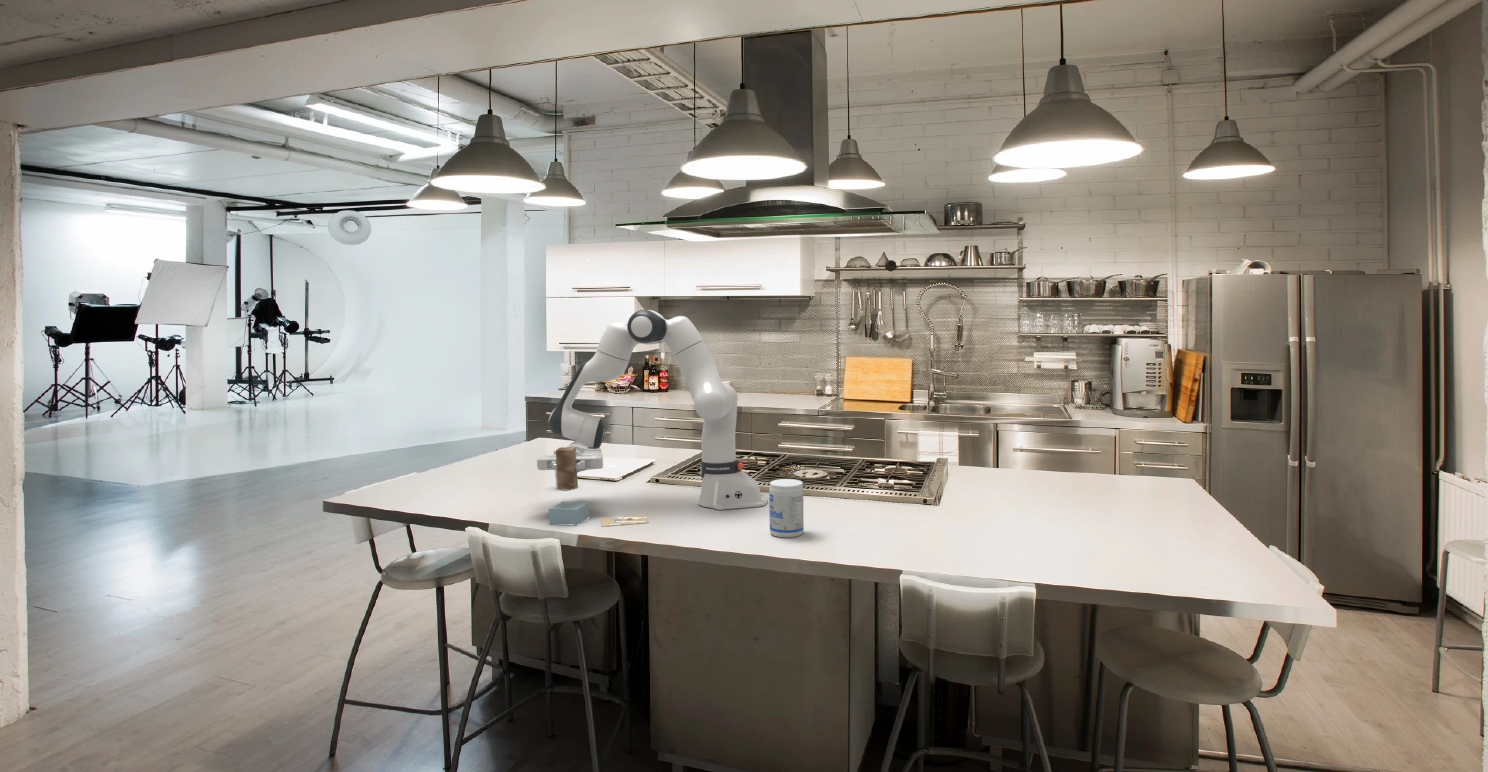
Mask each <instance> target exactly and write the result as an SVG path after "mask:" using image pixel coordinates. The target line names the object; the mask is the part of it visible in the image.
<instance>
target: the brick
mask: <svg viewBox="0 0 1488 772" xmlns="http://www.w3.org/2000/svg"><path fill="white" fill-rule="evenodd" d="M588 517H590V503H589V502H583V501H581V502H580V501H578V502H577V501H576V502H575V501H561V502H559V503H556V504H555V505H554V506H552V507H549V508H548V518H549V519H548V522H549V525H552V524H575V525H574V526H578V525H577V524H579V523H580V524H582V523H583V522H585V521H587V520H588V519H589V518H588ZM587 518H588V519H587ZM586 519H587V520H586ZM584 520H585V521H584ZM582 521H583V522H582ZM581 522H582V523H581ZM580 524H579V525H580Z"/></svg>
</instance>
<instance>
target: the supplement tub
mask: <svg viewBox="0 0 1488 772" xmlns="http://www.w3.org/2000/svg"><path fill="white" fill-rule="evenodd" d="M803 484H804V482H803V481H802V480H799V479H793V478H781V479H779V478H778V479H774V480H772V481H770V482H769V489H768V490H769V492H768V496H769V497H768V499H769V501H768V503H769V505H768V507H769V517H768V518H769V533H770V534H771V535H772V536H773V537H777V538H785V539H787V538H788V539H789V538H790V539H791V538H796V537H799V536H801V535H802V534H803V533H804V529H805V528H804V527H805V526H804V523H805V522H804V521H805V520H804V485H803Z"/></svg>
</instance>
